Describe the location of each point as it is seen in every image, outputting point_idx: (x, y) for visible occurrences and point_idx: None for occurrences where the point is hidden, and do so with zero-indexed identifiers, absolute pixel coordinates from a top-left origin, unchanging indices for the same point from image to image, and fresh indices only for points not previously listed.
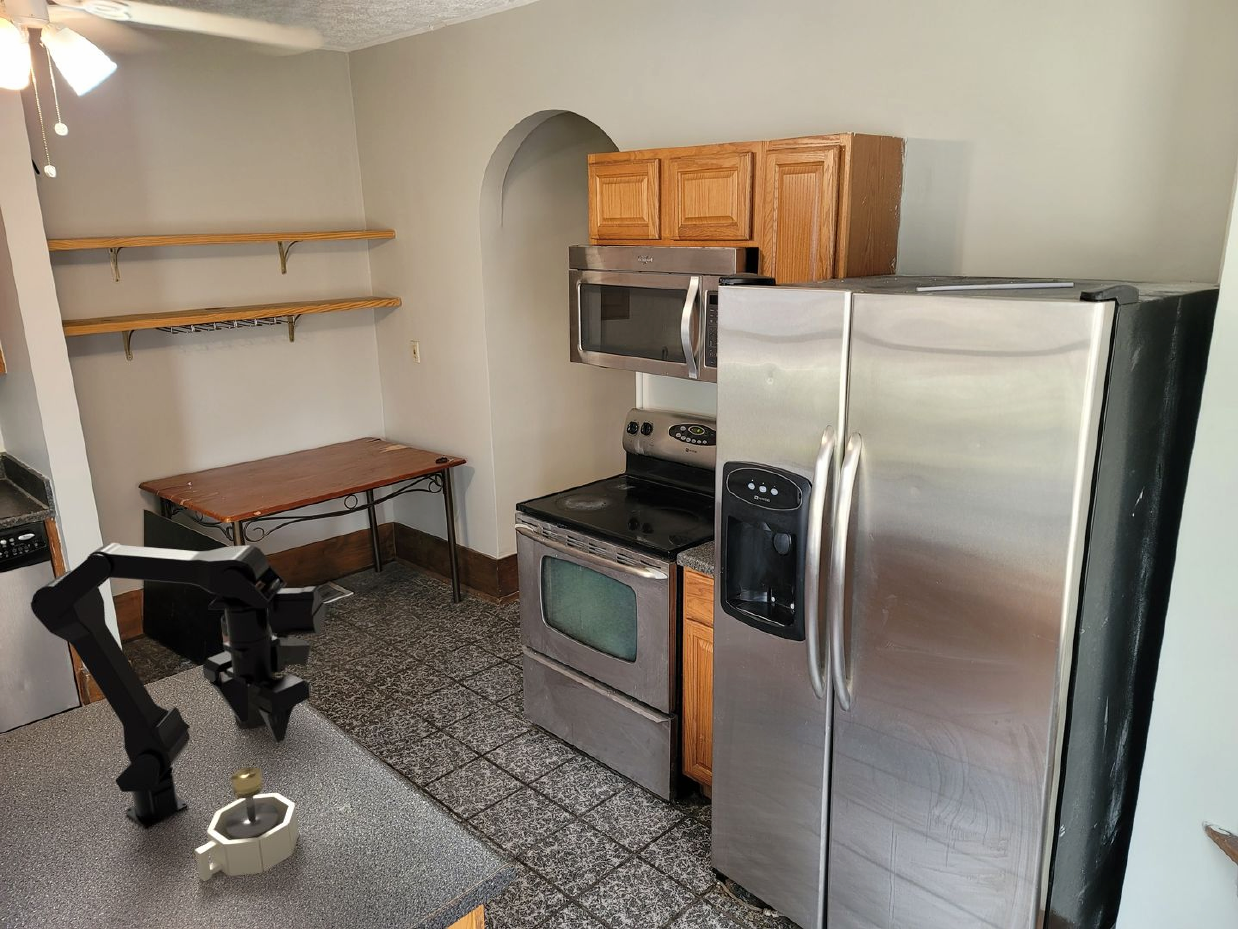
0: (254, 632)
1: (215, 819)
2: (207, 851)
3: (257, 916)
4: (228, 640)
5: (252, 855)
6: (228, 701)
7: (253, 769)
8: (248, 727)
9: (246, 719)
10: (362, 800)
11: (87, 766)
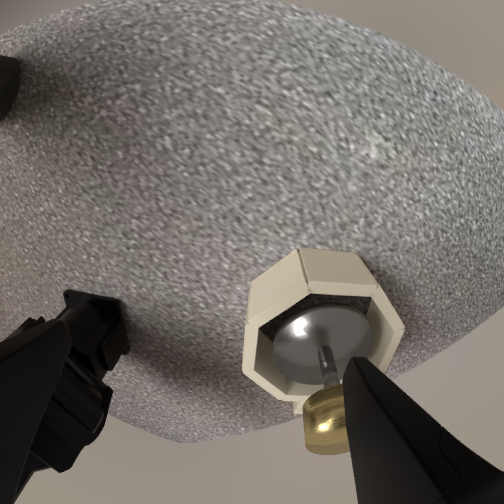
0: None
1: (263, 383)
2: None
3: (406, 369)
4: None
5: None
6: (28, 451)
7: (344, 427)
8: (6, 111)
9: (62, 330)
10: (389, 113)
11: None
